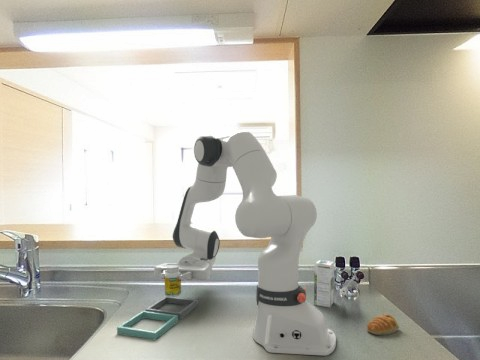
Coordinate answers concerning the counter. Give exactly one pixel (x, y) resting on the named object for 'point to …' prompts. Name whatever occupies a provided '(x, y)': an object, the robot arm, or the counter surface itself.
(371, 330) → the pastry
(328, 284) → the syrup box
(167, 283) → the supplement bottle
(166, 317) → the bin
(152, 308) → the bin
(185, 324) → the counter surface
